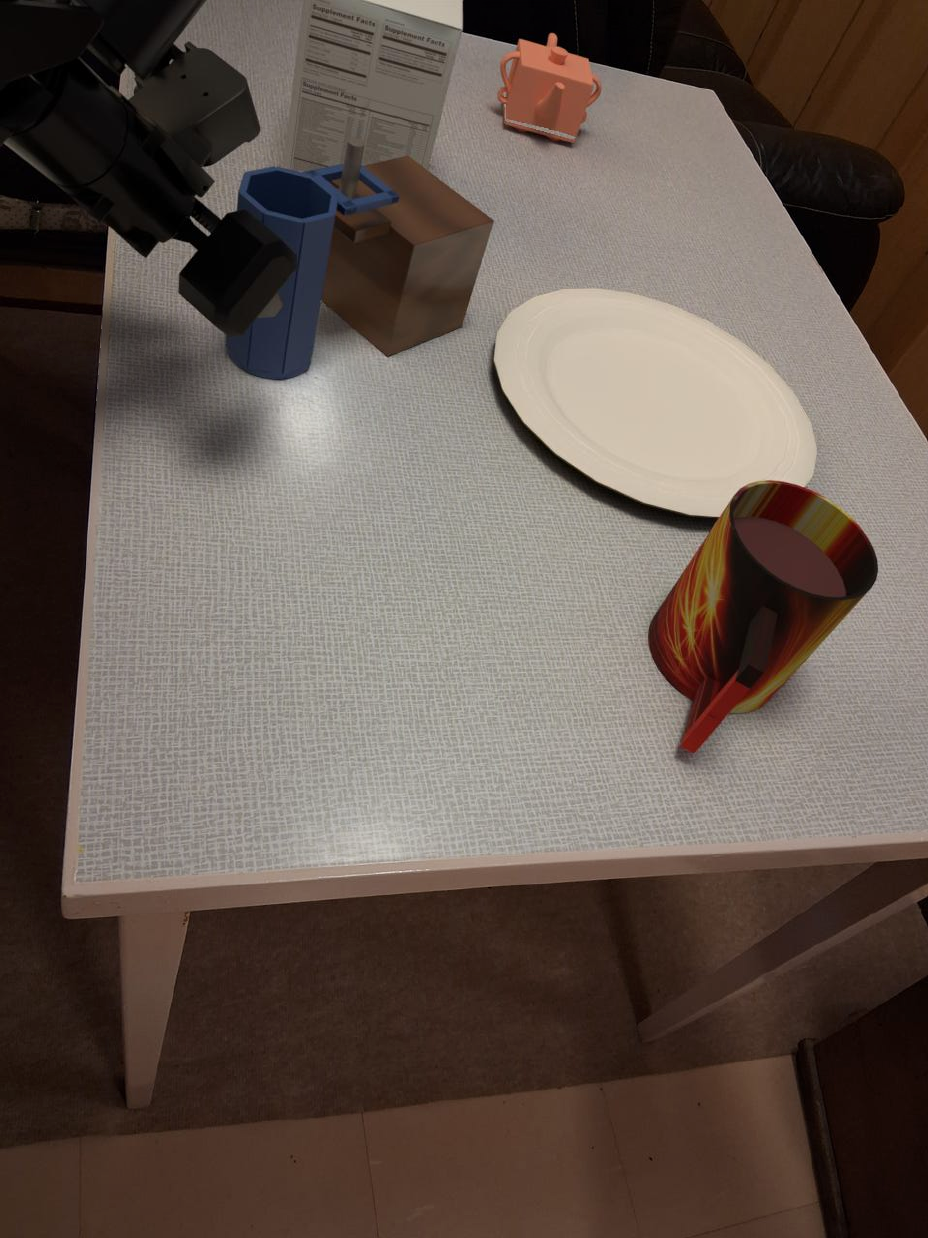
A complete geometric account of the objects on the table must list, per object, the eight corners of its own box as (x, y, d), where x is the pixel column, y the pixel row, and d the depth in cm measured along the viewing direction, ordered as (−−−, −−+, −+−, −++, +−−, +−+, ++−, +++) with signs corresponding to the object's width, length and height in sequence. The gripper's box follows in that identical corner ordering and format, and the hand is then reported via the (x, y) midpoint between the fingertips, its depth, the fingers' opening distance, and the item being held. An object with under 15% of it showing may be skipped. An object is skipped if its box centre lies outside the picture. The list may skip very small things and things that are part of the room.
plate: (520, 266, 91) (527, 248, 90) (803, 371, 93) (813, 355, 92) (453, 453, 72) (460, 434, 71) (811, 581, 74) (824, 565, 72)
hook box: (354, 370, 75) (394, 182, 64) (273, 299, 78) (296, 107, 66) (462, 326, 83) (515, 151, 71) (384, 263, 86) (423, 85, 74)
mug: (673, 763, 60) (768, 649, 51) (637, 592, 68) (713, 469, 59) (810, 775, 62) (925, 669, 53) (758, 608, 70) (850, 492, 61)
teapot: (579, 109, 118) (604, 37, 111) (589, 168, 108) (617, 93, 102) (486, 83, 115) (506, 7, 109) (488, 141, 106) (510, 62, 100)
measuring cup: (261, 389, 71) (281, 228, 61) (209, 339, 73) (220, 176, 63) (374, 347, 78) (408, 197, 68) (323, 303, 80) (350, 150, 70)
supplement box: (417, 226, 91) (465, 29, 78) (277, 192, 88) (302, -19, 75) (421, 160, 99) (464, -29, 86) (293, 126, 97) (318, -74, 83)
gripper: (292, 102, 47) (403, 253, 62) (74, -67, 53) (223, 109, 68) (152, 279, 48) (293, 386, 63) (-48, 96, 54) (125, 234, 69)
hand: (234, 272), depth 66 cm, fingers open, 9 cm apart
